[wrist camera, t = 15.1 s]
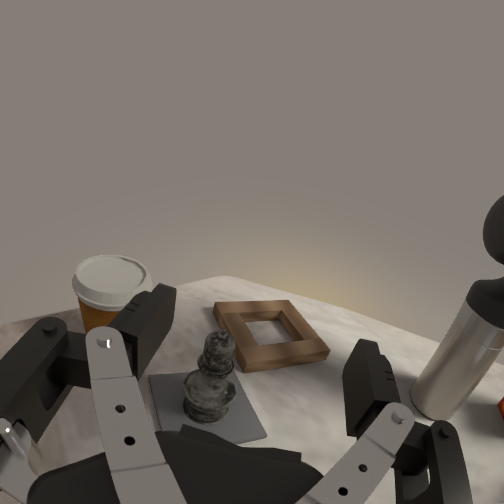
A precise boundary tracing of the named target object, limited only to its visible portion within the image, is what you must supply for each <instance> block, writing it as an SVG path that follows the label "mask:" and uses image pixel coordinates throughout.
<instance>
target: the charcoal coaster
mask: <svg viewBox="0 0 504 504" xmlns="http://www.w3.org/2000/svg"><path fill="white" fill-rule="evenodd" d="M188 374H189V373H178V374H160V375H149V380H150V385H151V390H152V394H153V398H154V403H155V407H156V411H157V415H158V419H159V423H160V427H161V430H162V431H166V430H172V431H180V429H181V427H182V425H183V424H186V425H189V426H192V427H195V428H198V429H202V430H205V431H208V432H212V433H214V434H216V435H217V436H219V437H221V438H223V439H225V440H227V441H229V442H231V443H233V444H240V443H245V442H250V441H254V440H259V439H263V438H266V437H267V434H266V432H265V430H264V428H263V426H262V425H261V423H260V421H259V419H258V417H257V415H256V413H255V411H254V409H253V408H252V406H251V404H250V402H249V400H248V398H247V396H246V394H245V392H244V390H243V388H242V386H241V384H240V382H239V380H238V378H237V376H236V374H235V372H234V370H233V371H232V372H231V373H230V374H229V375H228V376H229V377H230V378H231V379H232V380H233V381H234V383H235V385H236V387H237V397H236V399H235V401H234V402H233V403H232V404H231V405H230V406H228V407H229V412H228V415H227V417H226V419H225V420H223V421H222V422H220V423H219V424H215V425H202V424H198V423H196V422H194V421H192V420H191V419H190V418H189V417H188V416H187V415H186V414H185V412H184V410H183V400H184V398H185V397H186V396H185V394H184V392H183V386H182V384H183V381H184V379H185V377H186V376H187V375H188Z"/></svg>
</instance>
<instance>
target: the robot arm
mask: <svg viewBox="0 0 504 504" xmlns="http://www.w3.org/2000/svg"><path fill="white" fill-rule="evenodd" d="M483 241H484V245H485V248H486V250H487V252H488V253H489V255H490V256H491V257H493V258H494V259H495V260H496V261H497V262H499V263H501V264H503V265H504V196H502V197H501V198H499V199H498V200H497V201H496V202H495V204H494V205H493V206H492V207H491V209H490V211H489V213H488V214H487V217H486V219H485V222H484V227H483ZM175 301H176V288H174V287H170V286H167V285H164V284H161V283H159V284H158V285H157V286H156V287H155V288H154V290H153V291H152V292H148V291H143V292H141V293H138V294H136V295H135V296H134V297H133V298H132V299H131V300H130V301H129V303H127V305H126V306H125V307H124V308H123V309H122V310H121V311H120V312H119V313H118V314H117V316H116V317H115V318H114V319H113V320H112V321H111V322H110V323H109V324H108V326H107V327H105V326H102V327H96V328H94V329H92V330H90V331H89V332H88V333H87V334H81V333H75V332H69V331H67V326H66V324H65V322H64V321H62V320H61V319H59V318H55V317H46V318H43V319H40V320H39V321H38V322H36V323H35V324H34V325H33V326H32V327H31V328H30V329H29V330H28V331H27V332H26V333H25V334H24V335H23V337H22V338H21V339H20V340H19V341H18V342H17V343H16V344H15V345H14V346H13V347H12V348H11V349H10V350H9V351H8V352H7V353H6V354H5V356H4V357H3V358H2V359H1V360H0V491H4V492H5V493H7V494H8V495H10V496H11V497H13V498H14V499H15V500H17V501H18V502H20V503H21V504H364V502H365V501H366V500H367V499H368V497H369V496H370V495H371V493H372V492H373V491H374V489H375V488H376V487H377V485H378V484H379V483H380V481H381V480H382V479H383V477H384V476H385V474H386V473H387V471H388V470H389V469H390V467H391V468H394V474H395V491H396V504H473V501H472V495H471V490H470V485H469V480H468V475H467V470H466V465H465V461H464V457H463V453H462V449H461V445H460V441H459V437H458V433H457V431H456V429H455V428H454V426H453V425H452V424H450V423H449V422H447V421H445V420H448V419H450V418H451V417H452V416H453V415H454V413H455V412H456V411H457V410H458V409H459V408H460V406H461V405H462V404H463V403H464V401H465V400H466V399H467V398H468V397H469V395H470V394H471V393H472V391H473V390H474V389H475V387H476V386H477V385H478V383H479V382H480V381H481V379H482V378H483V377H484V375H485V374H486V372H487V371H488V370H489V368H490V367H491V365H492V364H493V362H494V361H495V359H496V358H497V356H498V355H499V353H500V352H501V350H502V348H503V346H504V277H503V278H500V279H494V280H478V281H476V282H474V284H473V285H472V286H471V288H470V290H469V292H468V294H467V296H466V299H465V301H464V302H463V304H462V307H461V308H460V310H459V312H458V314H457V316H456V318H455V320H454V321H453V323H452V325H451V327H450V329H449V330H448V332H447V334H446V335H445V337H444V339H443V340H442V342H441V344H440V345H439V347H438V349H437V350H436V352H435V353H434V355H433V357H432V358H431V360H430V361H429V363H428V364H427V366H426V367H425V369H424V370H423V372H422V373H421V375H420V376H419V378H418V379H417V380H416V382H415V383H414V385H413V386H412V388H411V392H410V393H411V399H412V401H413V403H414V405H415V406H416V407H417V409H418V410H419V411H420V412H421V413H422V414H424V415H425V416H427V417H429V418H431V419H434V420H437V421H435V422H434V423H433V424H432V425H431V426H430V427H429V426H427V425H424V424H421V423H419V422H416V421H415V419H414V415H413V413H412V412H411V410H410V409H409V408H408V407H406V406H405V405H403V404H401V401H400V397H399V393H398V390H397V386H396V382H395V381H394V380H395V378H394V375H393V371H392V367H391V364H390V362H389V361H388V360H387V358H386V357H385V356H384V355H381V354H380V351H379V348H378V344H377V342H374V341H369V340H365V339H359V340H358V342H357V344H356V345H355V347H354V349H353V351H352V353H351V355H350V357H349V358H348V360H347V362H346V364H345V366H344V369H343V374H342V379H343V390H344V402H345V415H346V430H347V436H352V437H357V442H356V443H355V444H354V445H353V446H352V447H351V448H350V449H349V451H348V452H347V453H346V454H345V455H344V456H343V457H342V458H341V459H340V460H339V461H338V462H337V463H336V465H335V466H334V467H333V468H332V469H331V470H330V471H329V472H328V473H327V474H326V475H325V476H323V475H322V474H321V473H320V472H319V471H318V470H316V469H315V468H313V467H312V466H310V465H308V464H306V463H305V462H302V461H301V453H300V452H294V451H288V450H283V449H277V448H249V447H240V446H237V445H235V444H233V443H231V442H229V441H227V440H225V439H223V438H221V437H219V436H217V435H216V434H214V433H212V432H208V431H205V430H202V429H198V428H195V427H192V426H189V425H186V424H183V425H182V427H181V429H180V431H172V430H166V431H157V432H154V430H153V427H152V425H151V422H150V419H149V416H148V413H147V410H146V407H145V404H144V401H143V398H142V395H141V392H140V389H139V386H138V382H137V381H138V380H139V379H140V377H141V376H142V374H143V372H144V371H145V369H146V367H147V366H148V364H149V363H150V361H151V359H152V358H153V356H154V354H155V353H156V351H157V350H158V348H159V346H160V345H161V343H162V342H163V340H164V338H165V337H166V335H167V334H168V332H169V330H170V328H171V326H172V323H173V318H174V310H175ZM73 386H78V387H83V388H89V389H92V393H93V399H94V404H95V410H96V415H97V420H98V424H99V429H100V433H101V437H102V441H103V445H104V449H105V452H103V453H100V454H97V455H95V456H92V457H89V458H87V459H84V460H81V461H78V462H75V463H73V464H70V465H67V466H64V467H61V468H58V469H55V470H51V471H48V472H46V473H44V474H42V475H41V476H39V475H38V467H39V464H40V461H41V453H40V450H39V448H38V447H37V445H36V444H37V442H38V441H39V439H40V438H41V436H42V434H43V433H44V431H45V429H46V428H47V426H48V425H49V423H50V422H51V420H52V418H53V417H54V415H55V414H56V412H57V411H58V409H59V408H60V406H61V404H62V403H63V401H64V400H65V398H66V397H67V395H68V394H69V392H70V391H71V389H72V388H73ZM428 468H429V473H430V484H429V481H428V474H427V469H428Z"/></svg>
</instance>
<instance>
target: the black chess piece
mask: <svg viewBox="0 0 504 504" xmlns="http://www.w3.org/2000/svg"><path fill="white" fill-rule="evenodd" d="M235 346H236V343H235V340H234V338H233V337H232V336H231V335H230V334H229V333H227V331H226V329H225V328H222V329H220V331H215V332H212V333H211V334H209V335H208V336H207V338H206V340H205V345H204V351H203V354H202V355H200V356H199V358H198V361H197V363H198V367H199V369H198V370H195V371H192V372H191V373H189V374H188V375H187V376H186V377H185V379H184V381H183V384H182V386H183V392H184V394H185V396H186V397H185V398H184V400H183V410H184V412H185V414H186V415H187V416H188V417H189V418H190V419H191V420H192V421H194V422H196V423H198V424H202V425H215V424H219V423H220V422H222V421H223V420H225V419H226V417H227V415H228V412H229V407H228V406H230V405H231V404H232V403H233V402H234V401H235V399H236V397H237V387H236V385H235V383H234V381H233V380H232V379H231V378H230V377H229V376H228V375H229V374H230V373H231V372H232V371H233V369H234V364H233V361H232V357H233V354H234V350H235Z"/></svg>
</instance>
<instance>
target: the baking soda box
mask: <svg viewBox="0 0 504 504" xmlns="http://www.w3.org/2000/svg"><path fill="white" fill-rule="evenodd" d="M498 407H499V409H500V411H501V414H502V416H503V419H504V397H503V398H502V400H501V401H500V402H499V403H498Z"/></svg>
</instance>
